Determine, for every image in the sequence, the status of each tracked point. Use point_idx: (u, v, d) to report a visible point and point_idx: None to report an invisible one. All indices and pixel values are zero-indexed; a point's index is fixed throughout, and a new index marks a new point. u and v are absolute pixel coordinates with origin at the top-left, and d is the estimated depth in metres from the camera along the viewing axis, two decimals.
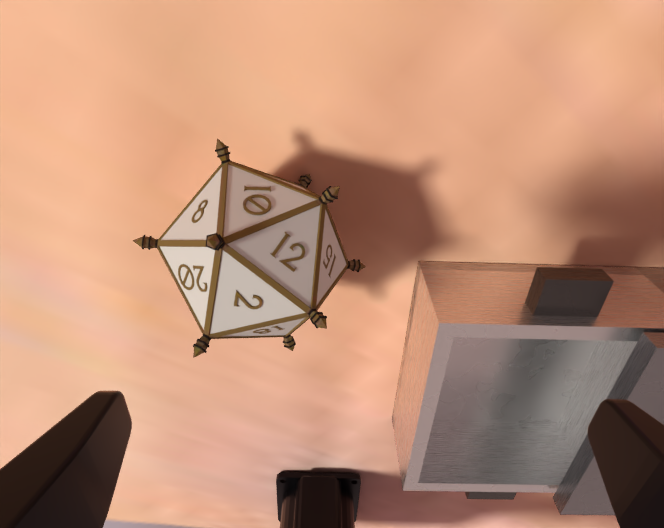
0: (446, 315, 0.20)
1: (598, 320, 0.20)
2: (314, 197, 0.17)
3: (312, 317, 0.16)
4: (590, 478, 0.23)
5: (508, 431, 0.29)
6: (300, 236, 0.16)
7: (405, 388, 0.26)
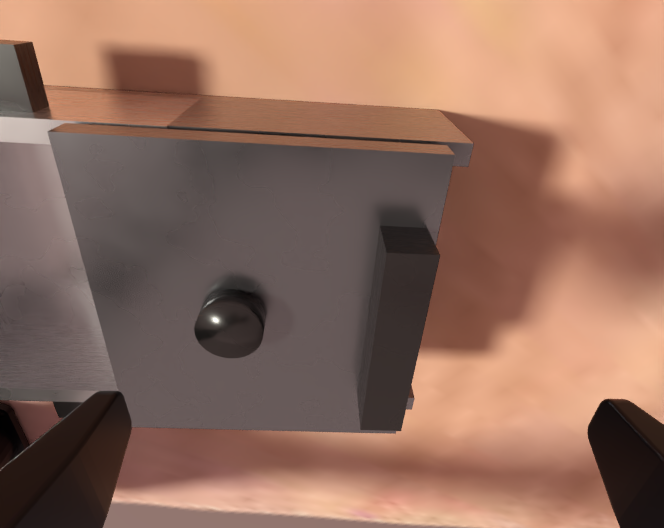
0: None
1: (25, 114, 0.14)
2: None
3: None
4: (124, 368, 0.17)
5: None
6: None
7: None
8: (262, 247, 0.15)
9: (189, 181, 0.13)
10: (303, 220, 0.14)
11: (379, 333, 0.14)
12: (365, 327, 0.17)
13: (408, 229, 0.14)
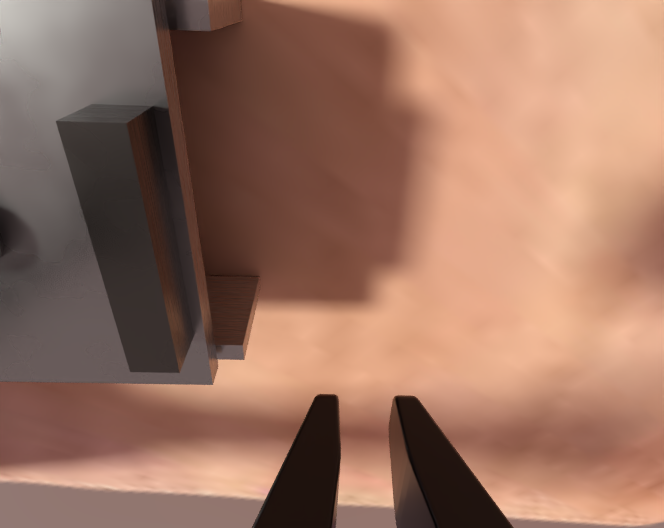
0: None
1: None
2: None
3: None
4: None
5: None
6: None
7: None
8: None
9: None
10: None
11: (96, 239, 0.12)
12: None
13: (124, 106, 0.11)
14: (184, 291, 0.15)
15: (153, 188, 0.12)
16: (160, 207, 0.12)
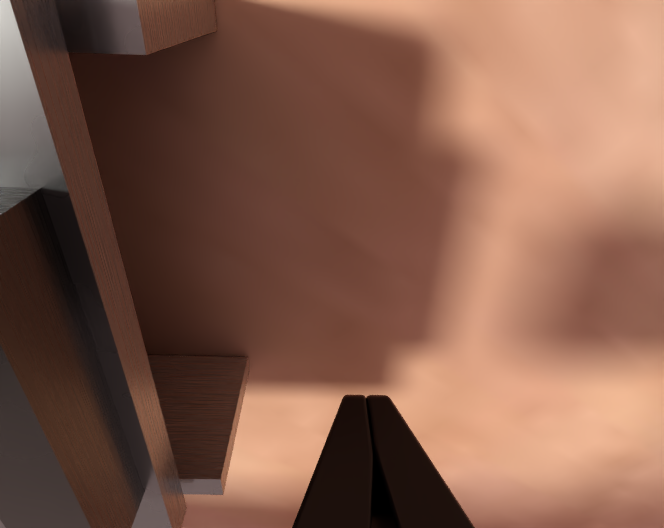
0: None
1: None
2: None
3: None
4: None
5: None
6: None
7: None
8: None
9: None
10: None
11: None
12: None
13: None
14: (125, 440, 0.10)
15: (44, 329, 0.07)
16: (64, 351, 0.07)
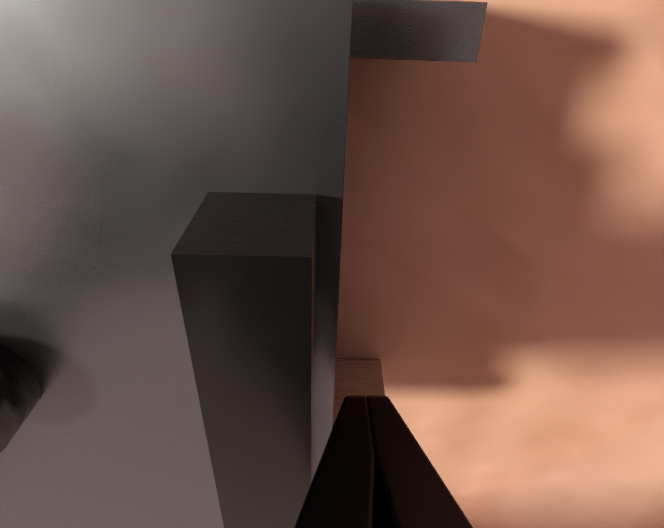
0: None
1: None
2: None
3: None
4: None
5: None
6: None
7: None
8: None
9: None
10: (33, 183, 0.06)
11: (214, 429, 0.07)
12: None
13: (269, 198, 0.06)
14: None
15: None
16: (312, 358, 0.07)
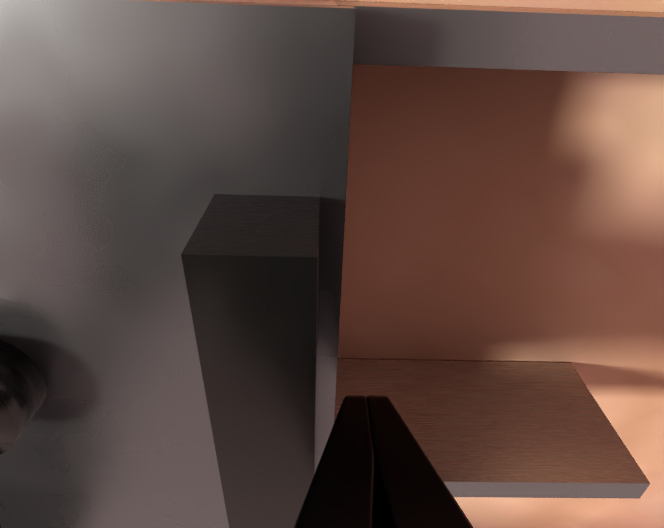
0: None
1: None
2: None
3: None
4: None
5: None
6: None
7: None
8: None
9: None
10: (44, 186, 0.07)
11: (220, 425, 0.07)
12: None
13: (275, 200, 0.06)
14: None
15: None
16: (315, 356, 0.07)
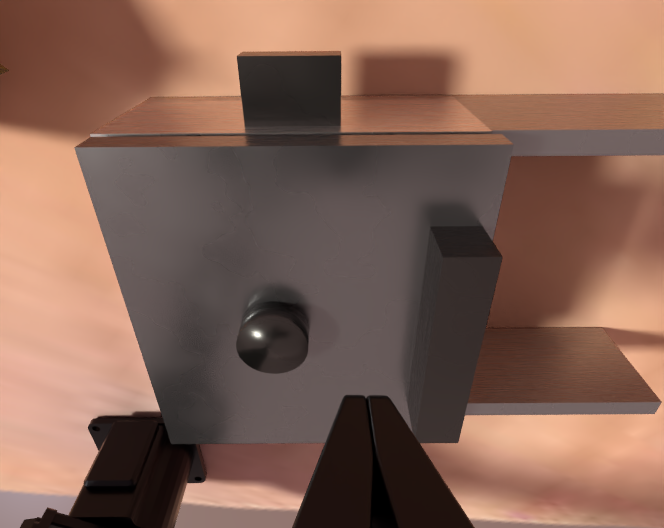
0: (112, 129, 0.13)
1: (338, 128, 0.13)
2: None
3: None
4: (165, 386, 0.17)
5: None
6: None
7: None
8: (303, 256, 0.14)
9: (224, 191, 0.13)
10: (347, 225, 0.13)
11: (434, 342, 0.13)
12: (415, 334, 0.15)
13: (462, 229, 0.13)
14: None
15: None
16: None
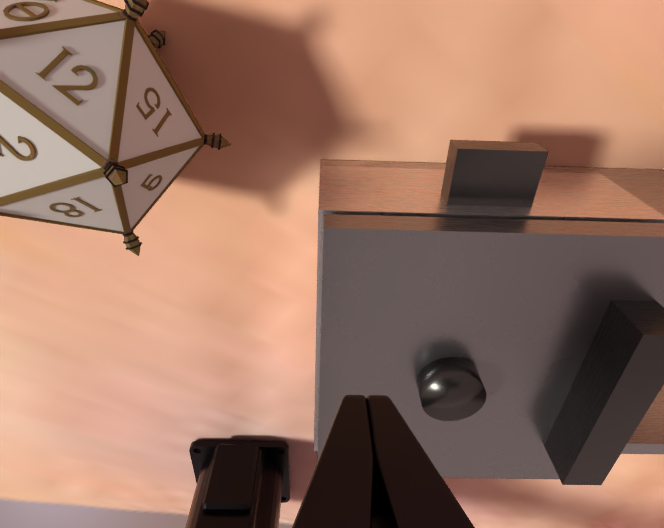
0: (331, 203, 0.15)
1: (531, 210, 0.15)
2: (117, 10, 0.12)
3: (106, 170, 0.11)
4: (330, 426, 0.18)
5: None
6: (90, 57, 0.11)
7: None
8: (493, 320, 0.15)
9: (442, 267, 0.14)
10: (540, 297, 0.15)
11: (611, 402, 0.15)
12: (570, 387, 0.17)
13: (640, 303, 0.15)
14: None
15: None
16: None
